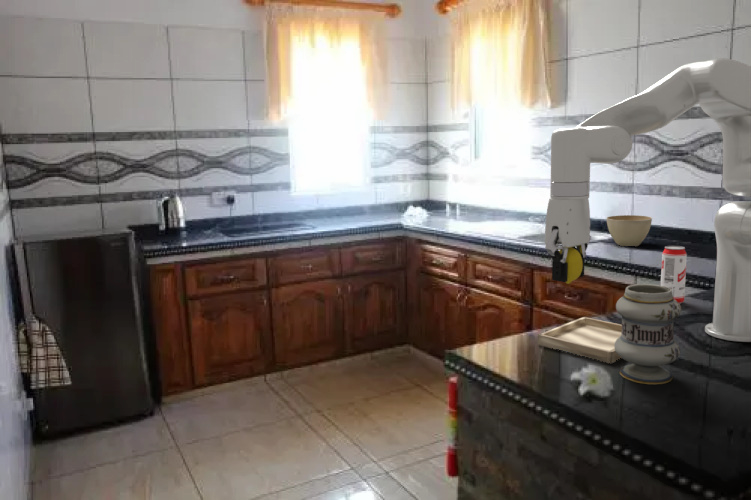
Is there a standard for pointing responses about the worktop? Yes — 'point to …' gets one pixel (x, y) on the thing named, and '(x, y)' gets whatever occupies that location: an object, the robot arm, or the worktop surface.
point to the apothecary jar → (647, 333)
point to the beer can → (674, 271)
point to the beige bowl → (629, 229)
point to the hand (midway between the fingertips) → (568, 277)
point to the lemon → (573, 264)
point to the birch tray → (585, 338)
